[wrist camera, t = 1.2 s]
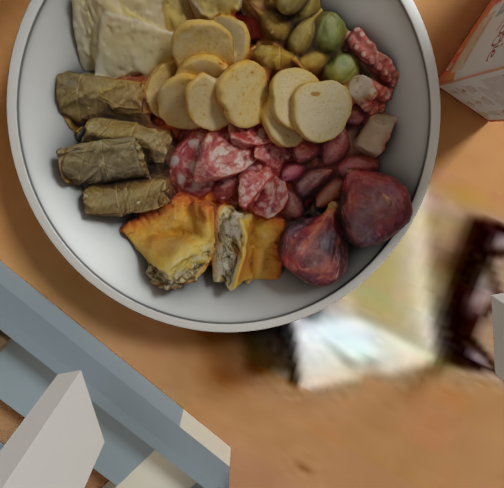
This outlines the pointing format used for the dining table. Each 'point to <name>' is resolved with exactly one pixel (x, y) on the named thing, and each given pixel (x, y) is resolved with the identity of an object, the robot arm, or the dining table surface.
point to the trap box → (104, 397)
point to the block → (4, 340)
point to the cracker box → (480, 66)
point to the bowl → (224, 148)
